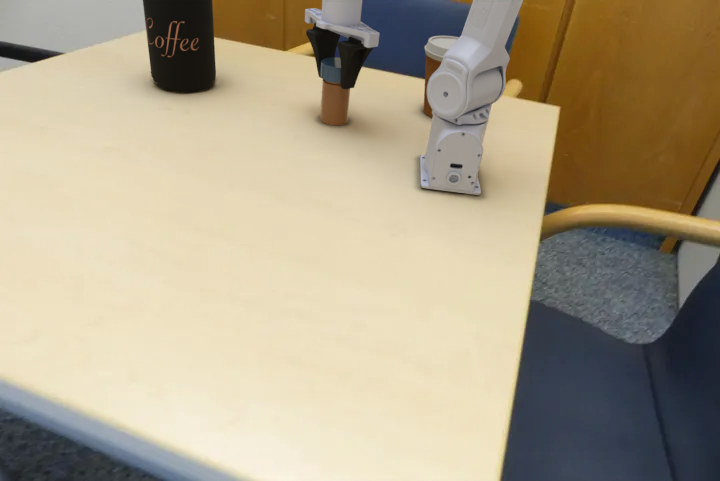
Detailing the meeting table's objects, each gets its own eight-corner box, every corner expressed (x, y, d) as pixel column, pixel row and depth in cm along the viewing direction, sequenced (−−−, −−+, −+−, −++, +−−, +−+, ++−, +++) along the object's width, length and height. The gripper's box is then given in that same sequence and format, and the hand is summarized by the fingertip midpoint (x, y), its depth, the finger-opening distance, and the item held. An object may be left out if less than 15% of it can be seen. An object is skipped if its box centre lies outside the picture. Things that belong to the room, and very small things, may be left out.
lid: (337, 69, 89) (338, 55, 87) (360, 79, 86) (362, 65, 85) (313, 74, 86) (313, 59, 84) (336, 85, 83) (337, 70, 81)
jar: (350, 125, 89) (355, 72, 84) (324, 126, 87) (327, 72, 82) (342, 114, 92) (347, 63, 87) (317, 115, 91) (320, 63, 86)
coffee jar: (139, 86, 93) (124, -32, 83) (174, 68, 102) (164, -40, 92) (196, 98, 91) (187, -20, 81) (227, 79, 100) (223, -30, 90)
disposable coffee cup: (403, 107, 97) (413, 37, 90) (441, 99, 102) (454, 32, 96) (440, 128, 91) (455, 54, 85) (479, 118, 97) (496, 48, 90)
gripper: (289, -22, 80) (287, 71, 88) (356, 1, 72) (347, 102, 80) (327, -24, 84) (321, 65, 92) (394, -2, 76) (382, 93, 84)
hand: (336, 82), depth 86 cm, fingers closed on lid, 5 cm apart
